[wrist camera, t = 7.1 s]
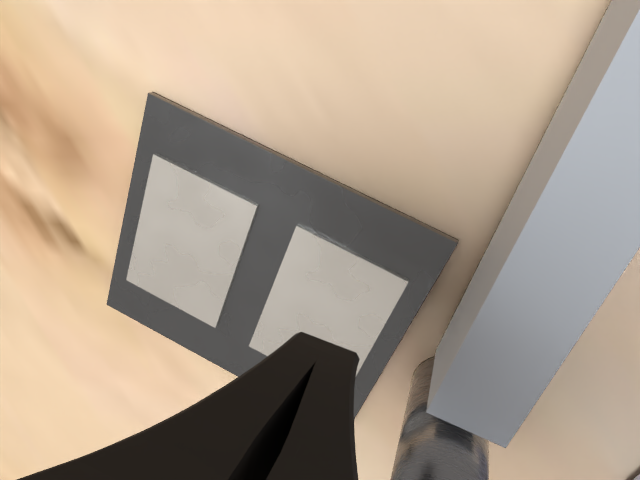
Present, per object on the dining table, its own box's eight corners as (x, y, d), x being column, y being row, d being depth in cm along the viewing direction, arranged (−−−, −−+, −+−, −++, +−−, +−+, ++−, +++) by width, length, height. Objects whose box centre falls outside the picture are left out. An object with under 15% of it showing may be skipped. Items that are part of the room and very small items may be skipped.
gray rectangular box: (502, 378, 17) (505, 448, 14) (435, 350, 17) (426, 412, 14) (727, 5, 11) (806, -3, 9) (623, -24, 12) (666, -42, 9)
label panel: (458, 240, 16) (457, 245, 16) (346, 430, 21) (343, 438, 21) (153, 92, 18) (144, 93, 17) (111, 301, 22) (103, 306, 22)
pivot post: (502, 379, 18) (509, 524, 13) (465, 428, 19) (457, 578, 14) (432, 343, 18) (410, 470, 13) (400, 393, 19) (368, 528, 14)
